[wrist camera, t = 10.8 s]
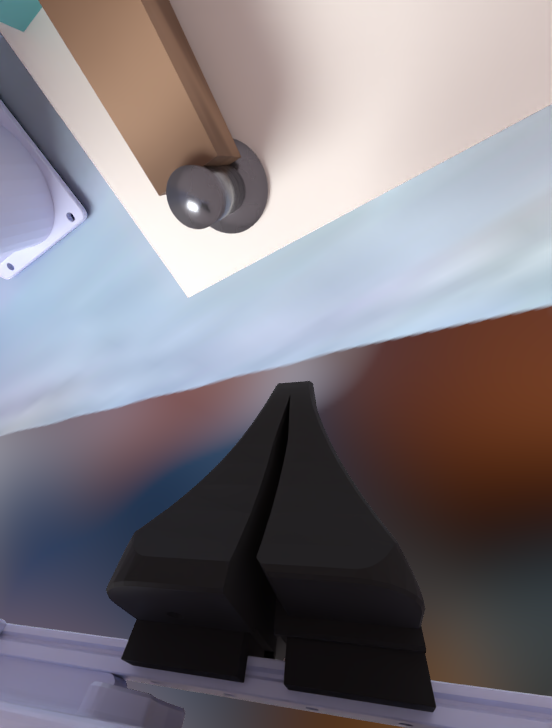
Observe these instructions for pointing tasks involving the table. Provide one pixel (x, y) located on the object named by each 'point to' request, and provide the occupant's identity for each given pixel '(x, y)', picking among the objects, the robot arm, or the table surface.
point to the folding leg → (156, 101)
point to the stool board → (310, 107)
